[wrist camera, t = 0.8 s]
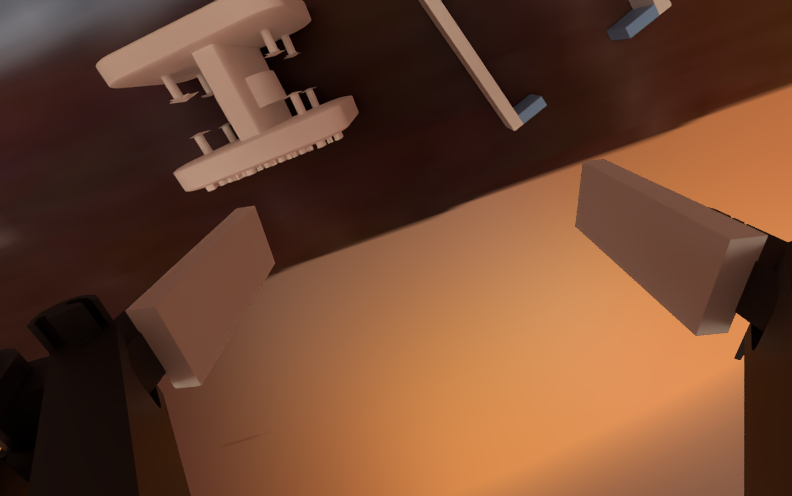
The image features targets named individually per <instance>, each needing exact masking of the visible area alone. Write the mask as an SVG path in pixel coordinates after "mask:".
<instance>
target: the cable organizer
mask: <svg viewBox="0 0 792 496" xmlns="http://www.w3.org/2000/svg"><path fill="white" fill-rule="evenodd" d="M310 21H311V17H310V15H309V12H308V10H307V8H306V5H305V3H304V1H302V0H216V1H214V2H212V3H210V4H208V5H206V6H204V7H202V8H200V9H198V10H196V11H194V12H192V13H190V14H188V15H186V16H184V17H182V18H180V19H178V20H176V21H174V22H172V23H170V24H168V25H166V26H164V27H162V28H160V29H158V30H156V31H154V32H152V33H150V34H148V35H146V36H144V37H142V38H140V39H138V40H136V41H134V42H132V43H130V44H128V45H126V46H124V47H122V48H120V49H118V50H117V51H115V52H113V53H111V54H109V55H107V56H105V57H104V58H102V59H101V60H100V61H99V62H98V63H97V64H96V68H97V70H98V71H99V73H100V74H101V75H102V77H103V78H104V80H105V81H106V83H107V84H108V86H109V87H111V88H127V87H138V86H150V85H162V84H165V85H166V87H167V89H168V90H169V92H170V93H171V95H172V96H173V98H174V99H173V100H170V101H173V102H171V103H179V102H186V101H187V100H189V99H190V98H191V97H193V96H194V95H195V94H197V93H198V92H196V93H193V94H189V93H188V94H186V95H184V96H183V94H182V93H181V91H180V89H179V88H178V86H177V85H176V83H181V82H185V81H189V80H192V79H195V78H198V79H199V81H200V83H201V85H202V86H203V88H204V90H205V92H206V93H207V95H204V97H209V96H212V95H214V96H215V98H216V100H217V102H218V103H219V105H220V107H221V109H222V110H223V112H224V114H225V116H226V117H227V119H228V121H229V122H230V123H226V124H224V125H223V126H221V127H220V128H222V129H223V131H224V133H225V134H226V136H227V138H228V140H229V141H230V143H229V144H227V145H225V146H223V147H220V148H218V149H216V150H214V151H213V150H212V149H211V147H210V146H209V144H208V142H207V141H206V139H205V137H204V136H203V134H204V133H206V132H208V131H205V132H200V133H198V134H196V135H195V136H193V137H191V139H192V138H194V139H195V140H196V142H197V143H198V145H199V147H200V148H201V150H202V151H203V153H204V155H203V156H201V157H199V158H197V159H195V160H193V161H191V162H189V163H187V164H185V165H183V166H182V167H180V168H178V169H177V170H176V171H175V172H174V175H175V177H176V178H177V180H178V181H179V182H180V184H181V185H182V187H183V188H184V190H185V191H194V190H198V189H201V188H204V187H206V189H207V190H208V192H209V191H212V190H214V189H216V188H217V187H218V186H219V185H220V186H223V185H225V184H227V183H228V182H229V183H230V182H233V181H236V180H240V179H241V178H243V177H246V176H250V175H252V174H254V173H256V172H257V170H258V171H260V170H263V168H264V167H265V168H268V167H270V166H274V165H276V164H277V163H278V162H279V163H281V162H283V161H285V160H287V159H288V160H289V159H291V158H292V156H293V158H295V157H296V156H298V154H299V153H300V155H301V154H304V153H306V152H307V151H308V152H309V151H310V150H313V146H312V145H313V144H316V145H317V147H318V148H321V147H323V146H325V145H326V142H325V139H326V140H327V142H328V144H329V143H332V142H333V140H332V136H334V138H335V141H337V140H339V139H341V138H343V134H342V132H341V131H343V130H344V129H346V128H347V127H348V126H349V125H350V123H351V122H352V121H353V120H354V118H355V117H356V116H357V115H358V113H359V112H358V109H357V107H356V104H355V102H354V99H353V97H352V96H344V97H340V98H337V99H334V100H332V101H329V102H327V103H324V104H322V105H319V103H318V101H317V98H316V96H315V94H314V92H313V88H316V87H313V88H308V89H306V90H305V91H303V92H302V91H298V92H293V93H291V94H290V95H288V96H287V95H286V93H285V91H284V89H283V88H282V86H281V84H280V82H279V80H278V78H277V76H276V74H275V73H274V71H273V70H270V69H269V67H268V65H267V63H266V61H265V59H264V57H263V55H262V53H261V51H260V48H262V47H265V46H267V48H268V50H269V52H270V53H269V54H265V55H268V56H266V57H265V58H267V57H272V56H276V55H278V54H279V53H281V52H283V51H285V50H282V51H280V49H279V50H278V48H277V45H276V43H275V41H278V40H280V39H282V41H283V43H284V45H285V48H286V50H287V52H288V54H289V55H287V57H286V58H291V57H294V56H296V55H298V54H299V53H301V52H299V53H297V52H296V51H295V49H294V46H293V44H292V42H291V39H290V37H289V35H291V34H293V33H295V32H297V31H299V30H300V29H302V28H304V27H305V26H306V25H308V24H309V23H310ZM286 58H284V59H286ZM299 92H302V93H304V92H306V94H307V96H308V98H309V101H310V103H311V105H312V107H313V108H312V109H310V110H307V111H306V110H305V107H304V105H303V103H302V101H301V99H300V97H299V94H298V93H299ZM201 97H202V98H204V97H203V96H201ZM288 97H290V98H291V100H292V102H293V104H294V106H295V109H296V111H297V113H298V115H295V116H293V117H292V115H291V113H290V111H289V109H288V107H287V105H286V103H285V99H286V98H288ZM171 103H169V104H171ZM229 124H231V125H232V127H233V129H234V130H235V132H236V134H237V136H238V137H239V139H238V140H237V138H236V137H235V135H234V133H233V131H232V130H231V128H230V126H229ZM210 131H211V130H210ZM256 168H257V169H256Z"/></svg>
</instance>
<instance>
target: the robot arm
mask: <svg viewBox="0 0 792 496" xmlns="http://www.w3.org/2000/svg"><path fill="white" fill-rule="evenodd" d="M575 226H576V227H577V228H578V229H579V230H580V231H581V232H582V233H583V234H584V235H585V236H587V237H588V238H589V239H590V240H591V241H592V242H593V243H594V244H595V245H597V246H598V247H599V248H600V249H601V250H602V251H603V252H604V253H605V254H606V255H607V256H609V257H610V258H611V259H612V260H613V261H614V262H615V263H616V264H617V265H618V266H620V267H621V268H622V269H623V270H624V271H625V272H626V273H627V274H628V275H629V276H631V277H632V278H633V279H634V280H635V281H636V282H637V283H638V284H639V285H641V286H642V287H643V288H644V289H645V290H646V291H647V292H648V293H650V294H651V295H652V296H653V297H654V298H655V299H656V300H657V301H658V302H659V303H660V304H661V305H663V306H664V307H665V308H666V309H667V310H668V311H669V312H670V313H672V315H674V316H675V317H676V318H677V319H678V320H679V321H680V322H681V323H682V324H684V325H685V326H686V327H687V328H688V329H689V330H690V331H691V332H692V333H693V334H694V335H696V336H699V335H709V334H719V333H727V332H728V331H729V328H730V326H731V324H732V321H733V319H734V316H735V314H736V313H737V314H739V315H740V316H742V317H743V318H744V319H746V320H747V321H748V322H750V325H749V327H748V329H747V331H746V333H745V336H744V338H743V340H742V342H741V344H740V347H739V349H738V351H737V353H736V356H735V359H738V360H741V358H742V357H743V355H744V357H745V358H744V364H745V365H744V367H745V369H744V370H745V372H744V382H745V383H744V392H745V393H744V396H745V397H744V398H745V399H744V401H745V402H744V410H745V411H744V415H745V416H744V425H745V426H744V431H745V432H744V433H745V435H744V441H745V442H744V446H745V447H744V456H745V457H744V496H792V241H791V242H786V241H784V240H781V239H779V238H777V237H775V236H773V235H770V234H768V233H766V232H764V231H762V230H759V229H757V228H755V227H753V226H751V225H748V224H746V225H745V224H744V222H742V221H740V220H738V219H735V218H731V216H729V215H727V214H725V213H722V212H720V211H718V210H716V209H713V208H709V207H706V206H704V205H702V204H699V203H697V202H695V201H693V200H691V199H689V198H687V197H684V196H682V195H680V194H678V193H676V192H674V191H672V190H669V189H667V188H665V187H663V186H661V185H658V184H656V183H654V182H652V181H650V180H648V179H645V178H643V177H641V176H639V175H637V174H635V173H633V172H630V171H628V170H626V169H624V168H622V167H619V166H617V165H615V164H613V163H611V162H609V161H607V160H604V159H600V160H592V161H585V162H583V165H582V174H581V183H580V190H579V199H578V207H577V216H576V224H575ZM274 264H275V262H274V259H273V256H272V253H271V250H270V248H269V245H268V242H267V239H266V236H265V233H264V231H263V228H262V225H261V222H260V219H259V217H258V214H257V211H256V208H255V206H250V207H243V208H237V209H235V210H234V211H233V212H232V213H231V214H230V215H229V216H228V217H227V218H226V219H225V220H223V221H222V222H221V223H220V224H219V225H218V226H217V227H216V228H215V229H214V230H213V231H211V232H210V233H209V234H208V235H207V236H206V237H205V238H204V239H203V240H202V241H201V242H199V243H198V244H197V245H196V246H195V247H194V248H193V249H192V250H191V251H190V252H189V253H187V254H186V255H185V256H184V257H183V258H182V259H181V260H180V261H179V262H178V263H177V264H175V265H174V266H173V267H172V268H171V269H170V270H169V271H168V272H167V273H166V274H165V275H163V276H162V277H161V278H159V279H158V280H157V281H156V282H155V283H154V284H153V285H151V286H150V287H149V288H148V290H146V291H145V292H144V293H143V294H142V295H140V297H139V298H137V299H136V300H135V301H134V302H133V303H132V304H131V305H130V306H128V307H127V308H126V309H125V310H124V311H123V312H122V313H121V314H120V315H119V316H117V317H116V318H115V319H114V320H113V319H112V318H111V316H110V315H109V313H108V312H107V310H106V309H105V307H104V306H103V305H102V303H101V302H100V300H99V299H98V297H97V296H96V295H84V296H78V297H75V298H72V299H69V300H66V301H63V302H61V303H59V304H57V305H54V306H52V307H50V308H49V309H47V310H45V311H43V312H42V313H40V314H39V315H37V316H36V317H35V318H34V319H32V320H31V321H30V323H29V324H28V326H27V327H28V328H29V329H30V331H31V332H32V333H33V334H34V335H35V336H36V338H37V339H38V340H39V341H40V342H41V344H42V345H43V346H44V347H45V348H46V350H47V351H48V352H49V353H50V354H49V356H47V357H43V358H40V359H37V360H33V361H30V362H27V361H26V360H25V359H24V358H23V357H22V356H21V354H20V353H19V352H18V351H17V350H16V349H4V350H0V447H1V448H2V449H1V450H0V496H191V495H190V492H189V488H188V484H187V481H186V477H185V473H184V469H183V466H182V462H181V458H180V455H179V451H178V447H177V444H176V440H175V436H174V432H173V429H172V425H171V422H170V418H169V414H168V410H167V406H166V403H165V399H164V395H163V393H162V392H161V390H160V389H159V387H158V386H157V384H158V382H159V381H160V380H161V378H162V377H163V376H164V374H165V373H166V375H167V376H168V378H169V380H170V381H171V383H172V384H173V386H174V387H175V388H184V387H194V386H201V385H202V384H203V382H204V381H205V378H206V377H207V376H208V374H209V372H210V371H211V369H212V367H213V366H214V364H215V362H216V361H217V359H218V357H219V356H220V354H221V352H222V351H223V349H224V347H225V346H226V344H227V342H228V341H229V339H230V337H231V335H232V334H233V332H234V331H235V329H236V327H237V326H238V324H239V322H240V321H241V319H242V317H243V315H244V314H245V312H246V311H247V309H248V307H249V306H250V304H251V302H252V301H253V299H254V297H255V296H256V294H257V292H258V291H259V289H260V287H261V286H262V284H263V282H264V281H265V279H266V277H267V276H268V274H269V272H270V271H271V269H272V267H273V266H274Z"/></svg>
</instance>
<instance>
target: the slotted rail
mask: <svg viewBox="0 0 792 496" xmlns="http://www.w3.org/2000/svg"><path fill="white" fill-rule="evenodd" d="M418 1H419V2H420V4H421V5H422V7H423V8H424V10H425V11H426V12H427V14H428V15H429V17H430V18H431V20H432V21H433V22H434V24H435V25H436V27H437V28H438V30H439V31H440V32H441V34H442V35H443V37H444V38H445V40H446V41H447V43H448V44H449V45H450V47H451V48H452V50H453V51H454V53H455V54H456V55H457V57H458V58H459V60H460V61H461V63H462V64H463V66H464V67H465V68H466V70H467V71H468V73H469V74H470V76H471V77H472V78H473V80H474V81H475V83H476V84H477V86H478V87H479V89H480V90H481V91H482V93H483V94H484V96H485V97H486V99H487V100H488V101H489V103H490V104H491V106H492V107H493V109H494V110H495V112H496V113H497V114H498V116H499V117H500V119H501V120H502V122H503V123H504V124H505V126H506V127H508V128H510V129H511V130H513V131H515V130H517V129H518V128H519V127H520V126H522V125H523V124H524V123H525V122H527V121H528V120H529V119H530V118H532V117H533V116H534V115H535V114H537V113H538V112H539V111H540V110H542V109H543V108H544V107H545V106H547V104H546V103H545V101H544V100H543V98H542V96H538V95H533V94H530V95H528V96H527V97H526V98H525V99H523V100H522V101H521V102H520V103H519V104H517V105H516V106H515V107H514V108H513V107H512V106H511V105H510V103H509V102H508V100H507V99H506V97H505V96H504V94H503V93H502V91H501V90H500V88H499V87H498V85H497V84H496V82H495V81H494V79H493V78H492V76H491V75H490V73H489V72H488V70H487V69H486V67H485V66H484V64H483V63H482V61H481V60H480V58H479V57H478V55H477V54H476V52H475V51H474V49H473V48H472V46H471V45H470V43H469V42H468V40H467V39H466V37H465V36H464V34H463V33H462V31H461V30H460V28H459V27H458V26H457V24H456V23H455V21H454V20H453V18H452V17H451V15H450V14H449V12H448V11H447V9H446V8H445V6H444V5H443V3H442V2H441V0H418ZM629 2H630V5H631V7H632V10H631V11H630V12H629V13H627V14H626V15H625V16H624V17H623V18H621V19H620V20H619V21H618V22H617V23H615V24H614V25H613V26H612V27H611V28H609V29H608V30H607V33H608V35H609V37H610V39H611V40H620V39H629V38H632V37H633V36H634V35H635V34H637V33H638V32H639V31H640V30H641V29H643V28H644V27H645V26H646V25H648V24H649V23H650V22H651V21H653V20H654V19H655V18H656V17H658V16H659V15H660V14H661V13H663V12H664V11H665V10H666V9H668V8H669V7H670V6H671V3H670V0H629Z"/></svg>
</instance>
